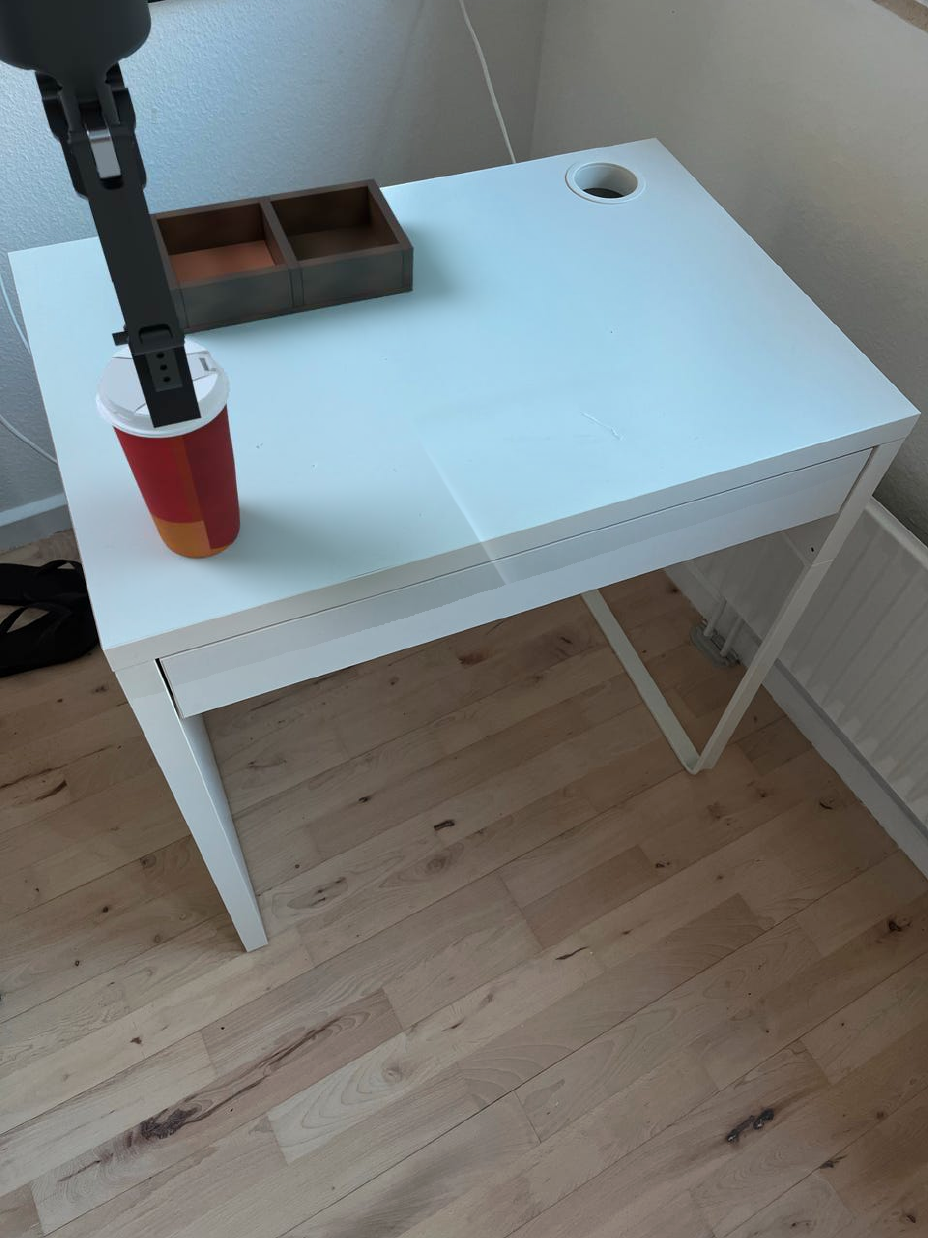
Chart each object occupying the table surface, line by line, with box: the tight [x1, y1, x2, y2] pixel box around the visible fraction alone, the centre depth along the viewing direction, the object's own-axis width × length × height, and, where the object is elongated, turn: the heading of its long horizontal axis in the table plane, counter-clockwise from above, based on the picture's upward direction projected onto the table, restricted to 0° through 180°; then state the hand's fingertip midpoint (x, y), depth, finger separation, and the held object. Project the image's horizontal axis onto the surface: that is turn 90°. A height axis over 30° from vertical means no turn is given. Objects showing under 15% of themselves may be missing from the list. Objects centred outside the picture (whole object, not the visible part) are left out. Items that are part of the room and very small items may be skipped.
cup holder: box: [149, 178, 414, 335], centre depth 87 cm, size 22×12×5 cm, turn 111°
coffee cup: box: [94, 338, 241, 559], centre depth 65 cm, size 8×8×15 cm
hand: (153, 343), depth 57 cm, fingers open, 13 cm apart
